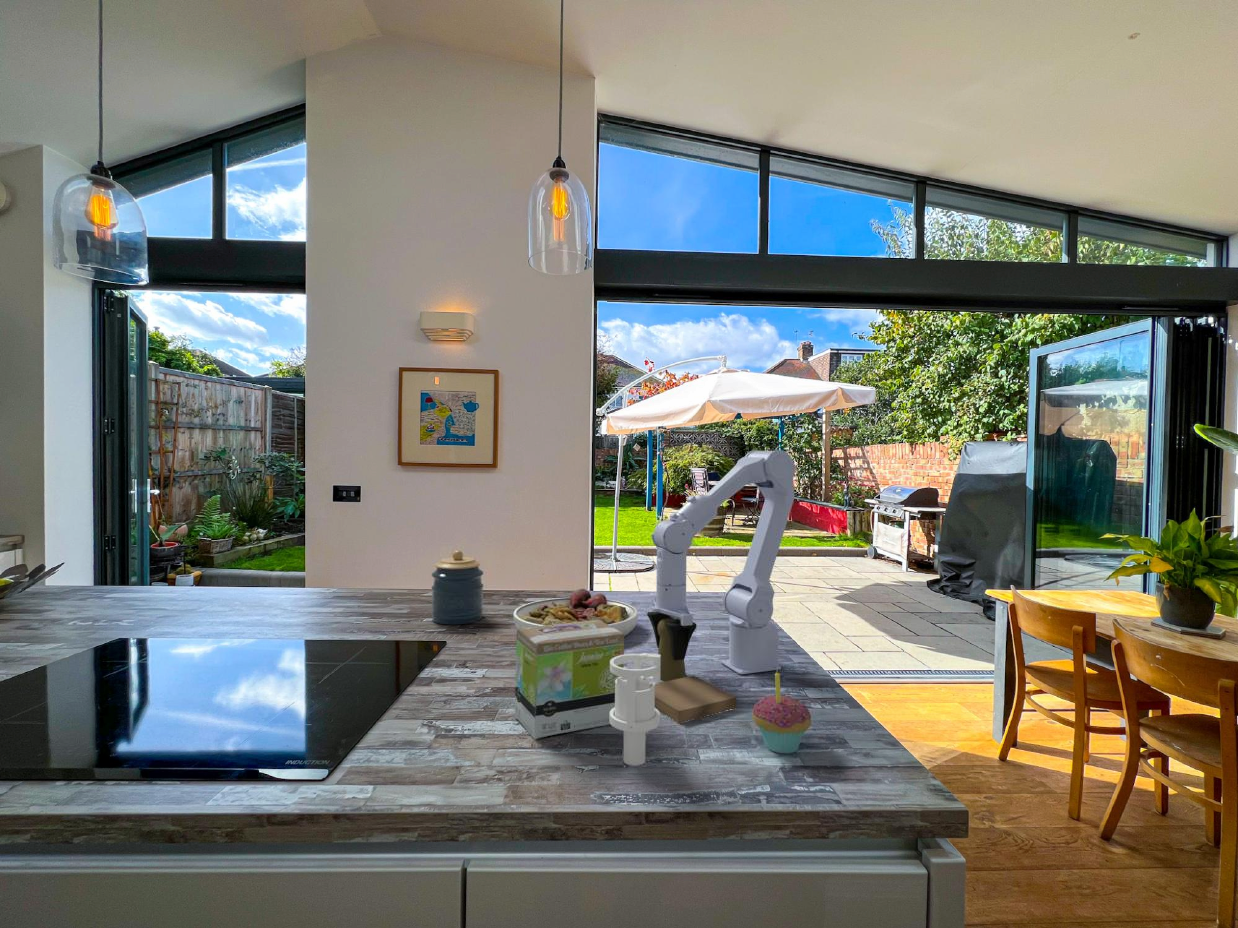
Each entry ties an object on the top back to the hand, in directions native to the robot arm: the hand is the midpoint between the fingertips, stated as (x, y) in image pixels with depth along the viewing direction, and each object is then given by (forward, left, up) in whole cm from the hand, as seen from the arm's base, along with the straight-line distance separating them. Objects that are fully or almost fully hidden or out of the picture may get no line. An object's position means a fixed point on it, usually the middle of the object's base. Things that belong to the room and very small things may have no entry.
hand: (670, 653), depth 123 cm
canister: (+34, -57, -5) cm, 67 cm away
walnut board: (+3, +13, -5) cm, 14 cm away
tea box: (+24, +13, -5) cm, 28 cm away
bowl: (+8, -37, -5) cm, 38 cm away
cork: (0, 0, -5) cm, 5 cm away
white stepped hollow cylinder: (+19, +29, -5) cm, 35 cm away
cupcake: (-3, +32, -5) cm, 32 cm away
